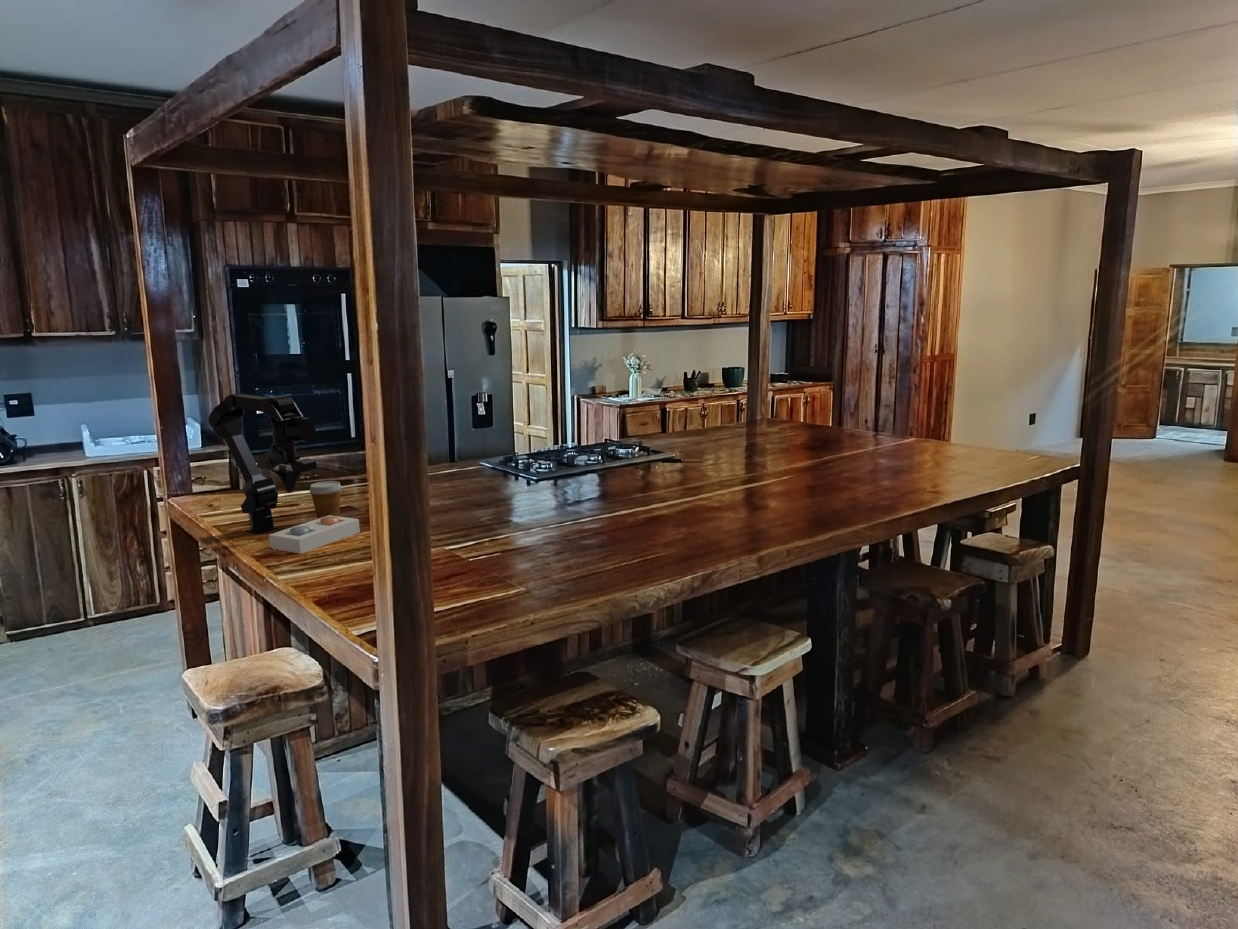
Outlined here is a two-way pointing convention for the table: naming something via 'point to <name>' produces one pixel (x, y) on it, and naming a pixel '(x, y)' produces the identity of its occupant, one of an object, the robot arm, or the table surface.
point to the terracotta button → (329, 520)
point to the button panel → (314, 535)
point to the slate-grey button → (299, 530)
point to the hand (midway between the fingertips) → (290, 492)
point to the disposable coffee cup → (326, 498)
